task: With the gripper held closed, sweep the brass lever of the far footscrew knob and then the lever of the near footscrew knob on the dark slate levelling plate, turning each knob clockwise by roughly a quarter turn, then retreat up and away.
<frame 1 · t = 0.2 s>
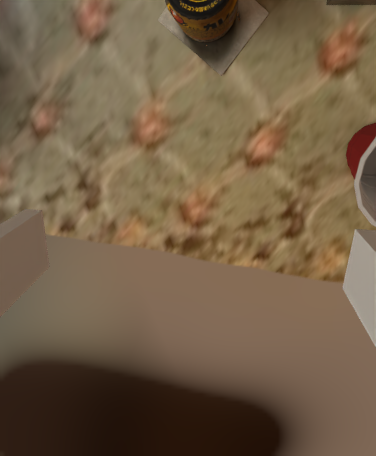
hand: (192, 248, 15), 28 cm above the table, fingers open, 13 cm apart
plastic cup: (371, 152, 40), on the table
condiment: (212, 17, 37), on the table
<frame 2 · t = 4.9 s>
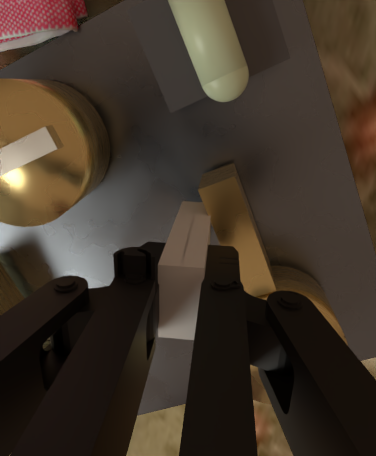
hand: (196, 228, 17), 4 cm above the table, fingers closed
levelling plate: (126, 245, 22), on the table
knob B: (259, 290, 17), point 4 cm above the table, hinge at -1.5°, touching gripper
knob A: (24, 362, 21), point 4 cm above the table, hinge at 0.0°
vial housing: (211, 41, 16), resting on levelling plate
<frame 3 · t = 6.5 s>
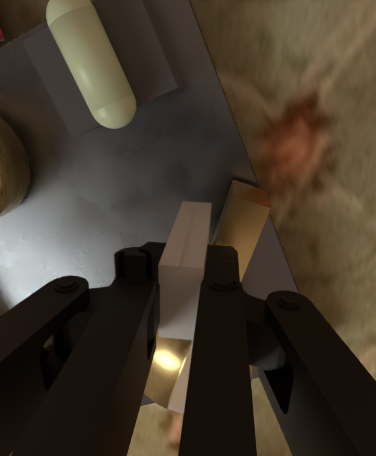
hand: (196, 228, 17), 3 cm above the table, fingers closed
levelling plate: (61, 257, 23), on the table
knob B: (209, 304, 18), point 4 cm above the table, hinge at -39.8°, touching gripper
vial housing: (117, 67, 16), resting on levelling plate
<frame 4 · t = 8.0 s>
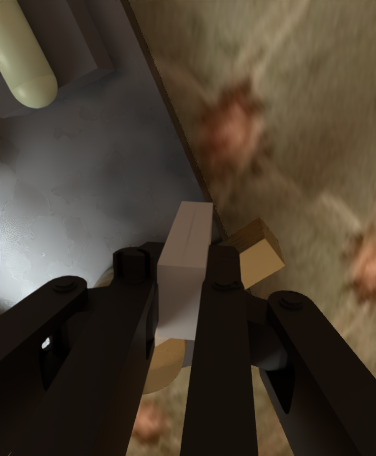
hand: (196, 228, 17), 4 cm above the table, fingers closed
levelling plate: (12, 243, 23), on the table
knob B: (173, 304, 18), point 4 cm above the table, hinge at -75.5°, touching gripper
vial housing: (49, 51, 17), resting on levelling plate
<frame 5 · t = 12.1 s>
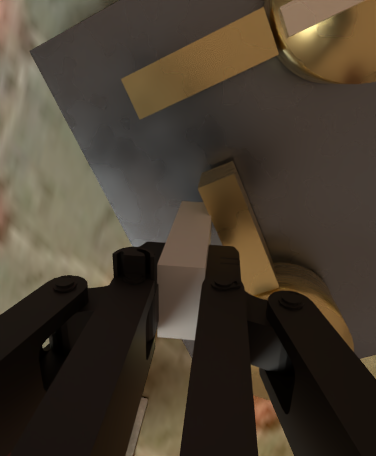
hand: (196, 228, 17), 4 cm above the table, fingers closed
condiment: (88, 414, 28), on the table
levelling plate: (363, 154, 19), on the table
knob C: (276, 30, 13), point 4 cm above the table, hinge at 0.0°
knob A: (262, 287, 17), point 4 cm above the table, hinge at 0.0°, touching gripper
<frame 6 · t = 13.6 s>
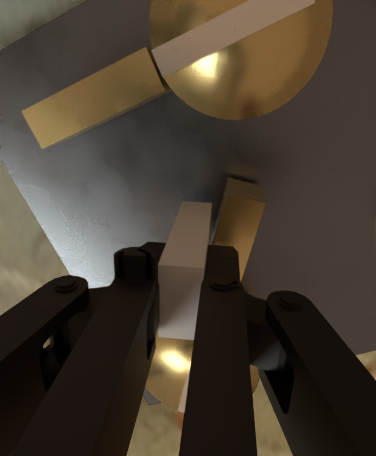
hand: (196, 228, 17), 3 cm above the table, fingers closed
levelling plate: (282, 176, 19), on the table
knob C: (166, 66, 14), point 4 cm above the table, hinge at 0.0°
knob A: (213, 304, 18), point 4 cm above the table, hinge at -35.9°, touching gripper
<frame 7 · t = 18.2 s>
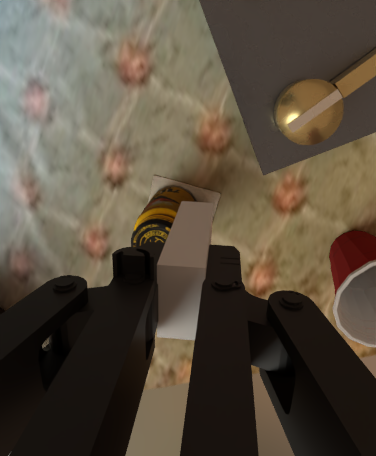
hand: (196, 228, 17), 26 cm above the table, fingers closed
plastic cup: (352, 252, 45), on the table
condiment: (180, 210, 46), on the table
levelling plate: (349, 22, 36), on the table
knob A: (334, 92, 35), point 4 cm above the table, hinge at -75.6°
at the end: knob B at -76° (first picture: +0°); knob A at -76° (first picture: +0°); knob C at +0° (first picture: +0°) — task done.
